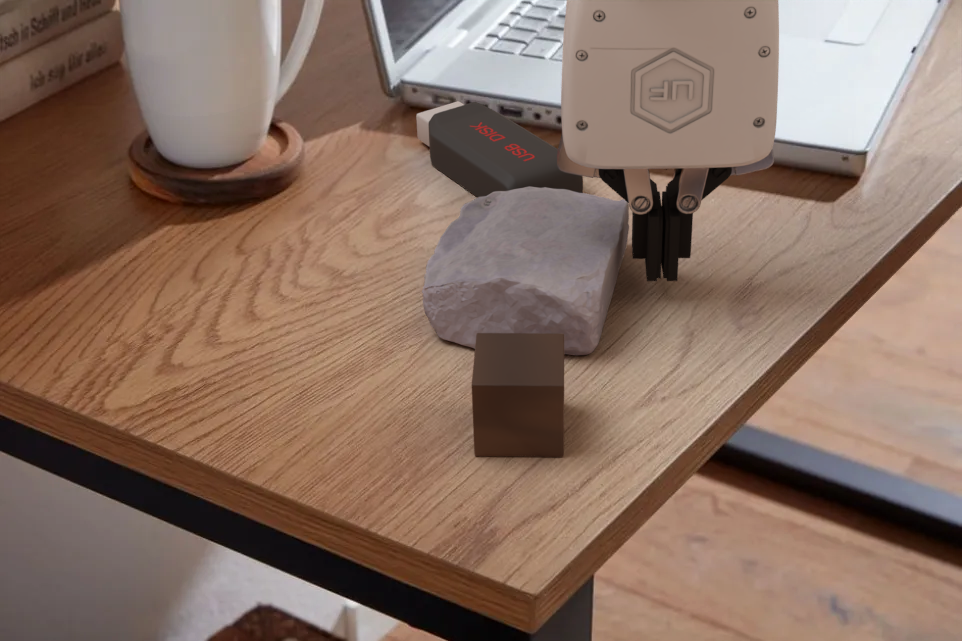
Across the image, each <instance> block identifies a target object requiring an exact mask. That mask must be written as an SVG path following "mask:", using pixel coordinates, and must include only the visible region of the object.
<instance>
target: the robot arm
mask: <svg viewBox="0 0 962 641" xmlns="http://www.w3.org/2000/svg"><path fill="white" fill-rule="evenodd" d="M565 4H566V5H565V16H564V24H563V38H562V39H563V40H562V55H561V84H560V85H561V87H560V88H561V90H560V119H561V136H560V139H559V142H558V143H559V144H558V147H557V149H558V150H557V166H558V168H559V169H560V170H561V171H563V172H565V173H570V174H575V175H580V176H582V177H586V178H590V179H594V178H596V179H597V178H598V179H600V180H601V181H602V182H603V183H605V185H606V186H608V187H609V188H610V189H611V190H613V191H614V192H615V193H616V194H617V195H618V196H620V198H622V200H625V201H627V202H628V204H629V210H630V211H631V212H632V219H631V221H632V222H631V253H632V254H631V255H632V259H633V260H636V259H637V260H640V259H641V260H643V259H644V269H645V277H646V282H657V281H658V280H659V279H661V278H662V279H665V280H666V282H678V279H679V278H678V276H679V274H678V273H679V259H691V256H692V237H693V222H694V221H693V219H694V215H693V214H694V213H695V212H697V211H698V210H699V209H700V207H701V204H702V201H704V199H705V198H707V197H708V196H709V195H710V194H711V193H713V192H714V191H715V190H716V189H717V188H718V187H720V185H722V184H723V183H724V182H726V181H727V179H729V178H730V177H732V176H736V177H737V176H742V175H747V174H750V173H755V172H760V171H764V170H767V169H770V168H771V167H772V166H773V164H774V163H775V155H774V150H773V147H774V144H775V139H776V130H777V119H778V117H777V116H778V99H779V98H778V96H779V71H780V70H779V66H780V11H779V9H780V8H779V5H780V3H779V0H566V3H565ZM651 169H652V170H659V169H660V170H664V169H673V173H672V179H671V180H670V181H669V182H667V185H666V186H665V190H663V191H659V190H658V185H657V183H656V182H655V181H654V180H653V179H652V178H651V175H650V170H651ZM660 192H661V193H660Z"/></svg>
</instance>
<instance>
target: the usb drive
mask: <svg viewBox="0 0 962 641" xmlns="http://www.w3.org/2000/svg"><path fill="white" fill-rule="evenodd" d="M415 119H416V131H417V132H416V136H417V140H419V141H420V142H422V143H423V144H424V145H426V146H427V147H429V158H430V164H431V166H432V167H434V168H435V169H437V170H438V171H439V172H441V173H442V174H443V175H444V176H446V177H448V178H449V179H451V180H452V181H453V182H454V183H456V184H458V185H459V186H460V187H462V188H463V189H464V190H466V191H468V192H469V193H470V194H472V195H473V196H475V197H476V198H478V197H483V196H487V195H489V194H491V193H492V192H496V191H509V190H514V189H519V188H524V187H529V186H530V187H537V188H544V187H546V188H552V189H566V190H570V191H574V192H578V193H584V176H580V175H575V174H570V173H565V172H563V171H561V170H560V169H559V168H558V166H557V150H558V147H555V146H553V145H552V144H550V143H549V142H548V141H546V140H544V139H543V138H540V137H539V136H537V135H535V134H534V133H533V132H531V131H529V130H528V129H526V128H524V127H523V126H521V125H519V124H517V123H516V122H515V121H513V120H512V119H510V118H508V117H507V116H505V115H503V114H501V112H500V113H499V112H498V111H496V110H494V109H492V108H490V107H488V106H486V105H484V104H482V103H479V102H477V101H473V102H469V103H465V104H464V103H462V102H461V101H459V100H457V101H454V102H451V103H448V104H444V105H441V106H438V107H435V108H434V107H433V108H431V109H428V110H424V111H421V112H418V113H416V116H415Z"/></svg>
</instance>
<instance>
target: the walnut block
mask: <svg viewBox="0 0 962 641" xmlns="http://www.w3.org/2000/svg"><path fill="white" fill-rule="evenodd" d="M471 377H472V378H471V405H472V406H471V407H472V429H473V433H472V434H473V452H474V453H473V455H474V456H475V457H531V458H532V457H535V458H537V457H539V458H543V457H544V458H547V457H548V458H563V457H564V456H565V354H564V334H563V333H477V334H476V344H475V349H474V355H473V366H472V376H471Z"/></svg>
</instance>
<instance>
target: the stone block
mask: <svg viewBox="0 0 962 641" xmlns="http://www.w3.org/2000/svg"><path fill="white" fill-rule="evenodd" d="M629 211H630V207H629V203H628V202H627V201H625V200H624V199H620V200H616V199H615V200H614V199H612V198H607V197H605V196H598V195H596V194H591V193H585V192H583V193H578V192H574V191H570V190H566V189H552V188H546V187H544V188H537V187H530V186H529V187H524V188H519V189H514V190H509V191H496V192H492V193H491V194H489V195H487V196H483V197H476V198H474V199H472V200H470V201H469V202H466V203H463V205H462V206H461V208H460V211H459V216H458V217H457V218H456V219H454V220H453V221H452V222H450V224H449V225H447V227H446V229H445V230H444V232H443V233H442V235H441V236H440V238H439V240H438V242H437V244H436V247H435V248H434V252H433V254H431V256H430V257H429V259H428V260H427V262H426V266H425V273H424V276H423V278H424V284H423V287H422V291H421V293H422V306H423V310H424V314H425V316H426V318H427V319H428V322H429V325H430V326H431V328H432V329H433V330H434V331H435V332H436V335H437V336H438V337H439V338H440V339H442V340H444V341H449V342H452V343H456V344H459V345H461V346H465V347H468V348H472V349H474V350H475V344H476V334H477V333H563V334H564V355H570V356H571V355H572V356H586V355H589V354H592V353H594V352H595V349H597V347H598V346H599V344H600V340H601V337H602V333H603V329H604V326H605V322H606V319H607V315H608V311H609V308H610V304H611V301H612V298H613V294H614V291H615V288H616V285H617V280H618V276H619V274H620V268H621V266H622V263H623V260H624V256H625V254H626V249H627V247H628V239H629V231H630V225H629V222H630V221H629V220H630V212H629Z"/></svg>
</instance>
